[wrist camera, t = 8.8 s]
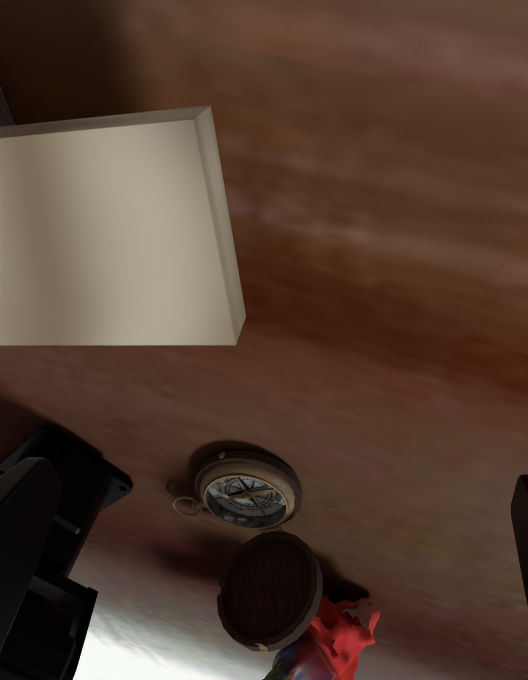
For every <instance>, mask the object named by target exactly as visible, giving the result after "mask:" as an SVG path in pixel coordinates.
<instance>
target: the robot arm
mask: <svg viewBox="0 0 528 680" xmlns="http://www.w3.org/2000/svg"><path fill="white" fill-rule="evenodd" d="M132 487H133V483H132V481H130V480H129V479H128V478H126V477H125V476H123V475H122V474H120V473H119V472H118V471H116V470H115V469H113V468H112V467H110V466H109V465H107V464H106V463H104V462H103V461H102V460H100V459H99V458H97V457H96V456H94V455H93V454H91V453H90V452H88V451H87V450H85V449H84V448H83V447H81V446H80V445H78V444H77V443H75V442H74V441H72V440H71V439H69V438H68V437H67V436H65V435H64V434H62V433H61V432H59V431H58V430H56V429H55V428H53V427H52V426H50V425H42V426H41V427H40V428H38V429H37V430H36V431H35V432H34V433H33V434H32V435H31V436H29V437H28V438H27V439H26V440H25V441H24V442H23V443H22V444H20V445H19V446H18V447H17V448H16V449H15V450H14V451H13V452H11V453H10V454H9V455H8V456H7V457H6V458H5V459H4V460H2V461H1V462H0V680H73V677H74V675H75V672H76V669H77V666H78V663H79V659H80V655H81V652H82V648H83V645H84V641H85V638H86V634H87V630H88V627H89V623H90V620H91V616H92V612H93V609H94V605H95V602H96V598H97V595H98V591H96V590H94V589H92V588H90V587H88V588H86V587H84V586H82V585H80V584H78V583H76V582H74V581H72V580H71V579H69V578H68V576H69V574H70V572H71V570H72V568H73V565H74V563H75V561H76V559H77V557H78V555H79V553H80V551H81V549H82V547H83V545H84V543H85V540H86V538H87V536H88V534H89V532H90V530H91V528H92V526H93V524H94V522H95V520H96V518H97V516H98V513H99V512H100V511H102V510H103V509H105V508H106V507H108V506H110V505H111V504H113V503H114V502H116V501H117V500H119V499H121V498H122V497H124V496H125V495H127V494H128V493H130V492H131V490H132ZM511 518H512V524H513V529H514V535H515V540H516V546H517V551H518V557H519V562H520V568H521V573H522V579H523V584H524V590H525V595H526V600H527V605H528V475H526V474H523V475H520V476H519V478H518V480H517V483H516V487H515V491H514V495H513V499H512V502H511Z"/></svg>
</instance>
